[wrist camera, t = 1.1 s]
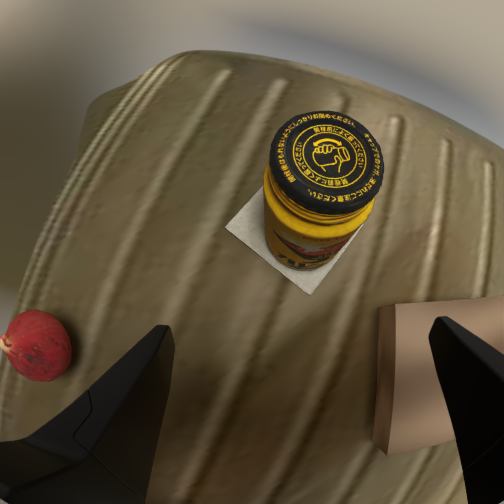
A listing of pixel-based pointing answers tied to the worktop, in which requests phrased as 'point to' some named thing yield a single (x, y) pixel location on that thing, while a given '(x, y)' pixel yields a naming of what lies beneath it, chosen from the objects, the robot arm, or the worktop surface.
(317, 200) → the condiment
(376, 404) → the pinkish brown square block
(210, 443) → the worktop surface
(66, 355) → the onion
